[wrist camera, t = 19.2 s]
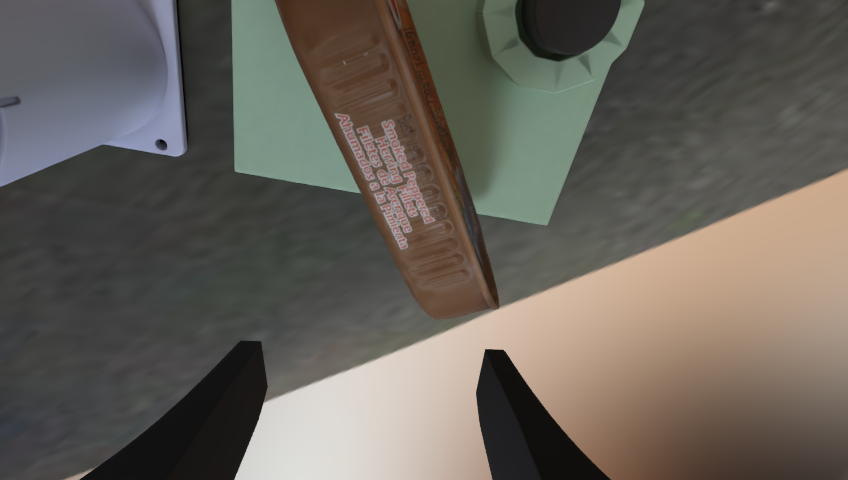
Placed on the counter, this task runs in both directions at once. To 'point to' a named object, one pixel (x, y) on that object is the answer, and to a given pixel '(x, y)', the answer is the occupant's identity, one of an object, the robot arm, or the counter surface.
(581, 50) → the button
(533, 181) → the pale green flat piece
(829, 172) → the counter surface
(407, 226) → the tin
